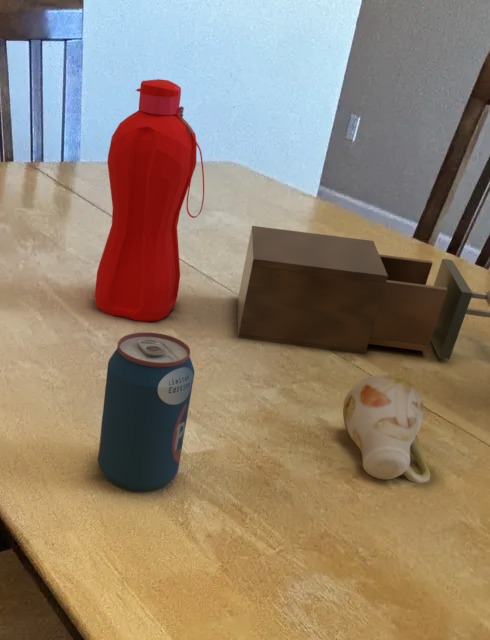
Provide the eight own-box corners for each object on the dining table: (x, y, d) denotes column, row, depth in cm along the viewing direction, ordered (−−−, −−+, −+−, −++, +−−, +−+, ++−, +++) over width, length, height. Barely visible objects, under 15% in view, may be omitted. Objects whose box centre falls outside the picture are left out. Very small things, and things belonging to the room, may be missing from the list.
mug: (344, 489, 77) (343, 374, 76) (343, 482, 86) (342, 379, 85) (435, 486, 75) (436, 368, 74) (424, 480, 84) (424, 375, 83)
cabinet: (352, 317, 110) (373, 240, 104) (364, 357, 100) (388, 275, 94) (237, 302, 111) (251, 225, 105) (237, 340, 101) (253, 258, 95)
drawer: (478, 328, 108) (501, 265, 103) (500, 366, 99) (526, 300, 94) (322, 307, 109) (338, 245, 105) (330, 343, 100) (348, 277, 96)
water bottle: (174, 333, 101) (210, 96, 86) (86, 314, 104) (105, 80, 89) (194, 307, 108) (230, 83, 94) (111, 290, 111) (133, 69, 96)
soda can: (188, 494, 74) (212, 363, 67) (110, 502, 72) (126, 368, 65) (159, 452, 79) (178, 327, 72) (86, 458, 77) (98, 330, 70)
